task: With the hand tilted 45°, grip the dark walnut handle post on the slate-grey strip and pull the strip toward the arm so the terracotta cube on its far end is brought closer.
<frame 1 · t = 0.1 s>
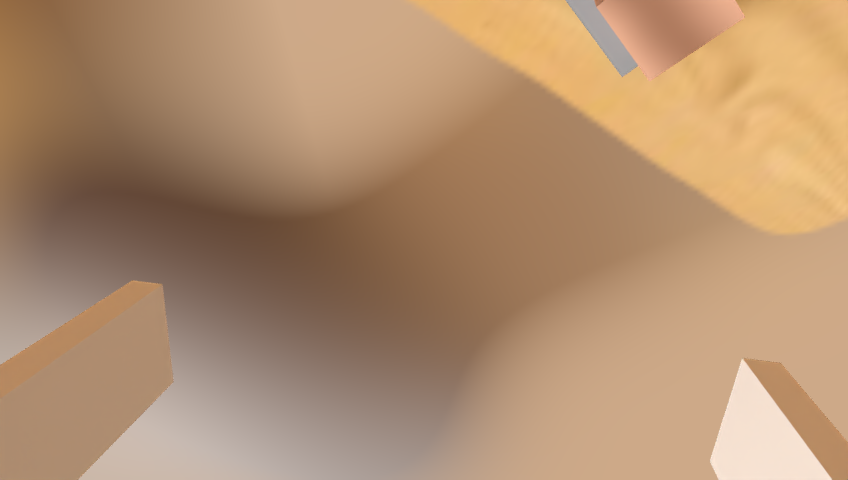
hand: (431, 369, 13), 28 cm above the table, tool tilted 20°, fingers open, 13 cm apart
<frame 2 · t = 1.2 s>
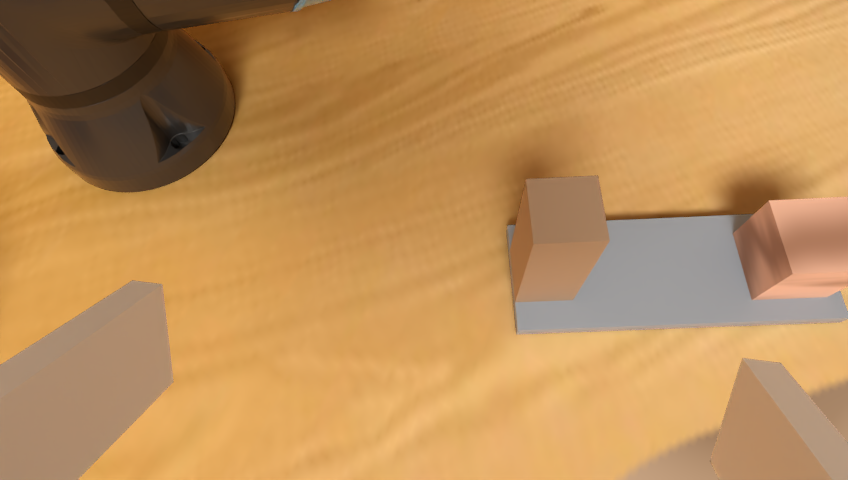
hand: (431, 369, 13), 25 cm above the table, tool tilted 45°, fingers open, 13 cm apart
strip: (694, 242, 34), point 6 cm above the table, slide at 0.0 cm, touching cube
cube: (778, 264, 38), point 1 cm above the table, touching strip
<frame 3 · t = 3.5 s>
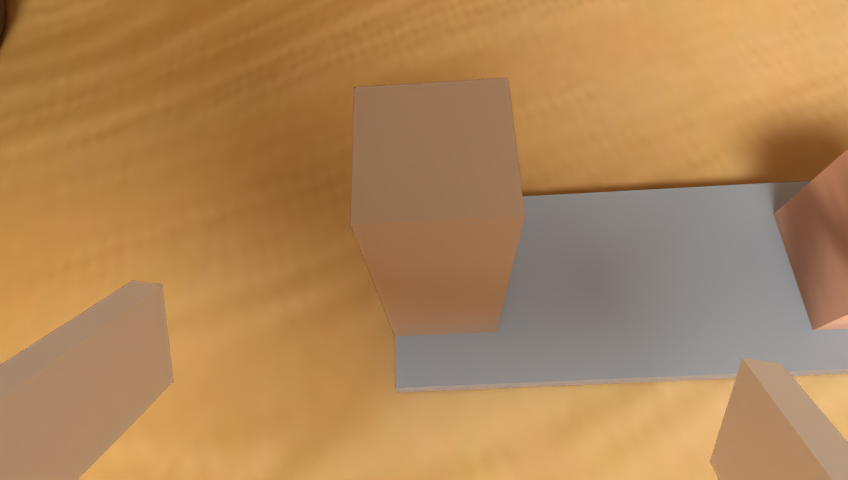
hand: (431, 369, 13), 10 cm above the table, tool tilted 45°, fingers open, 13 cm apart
strip: (713, 226, 18), point 6 cm above the table, slide at 0.0 cm, touching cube
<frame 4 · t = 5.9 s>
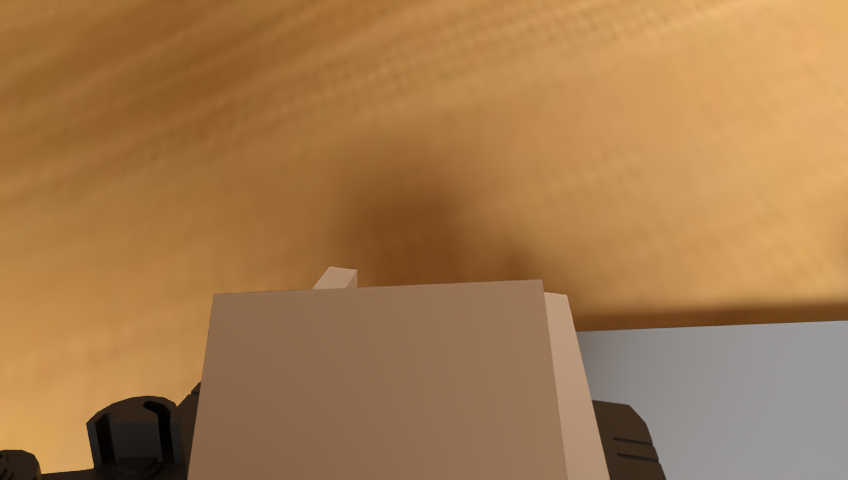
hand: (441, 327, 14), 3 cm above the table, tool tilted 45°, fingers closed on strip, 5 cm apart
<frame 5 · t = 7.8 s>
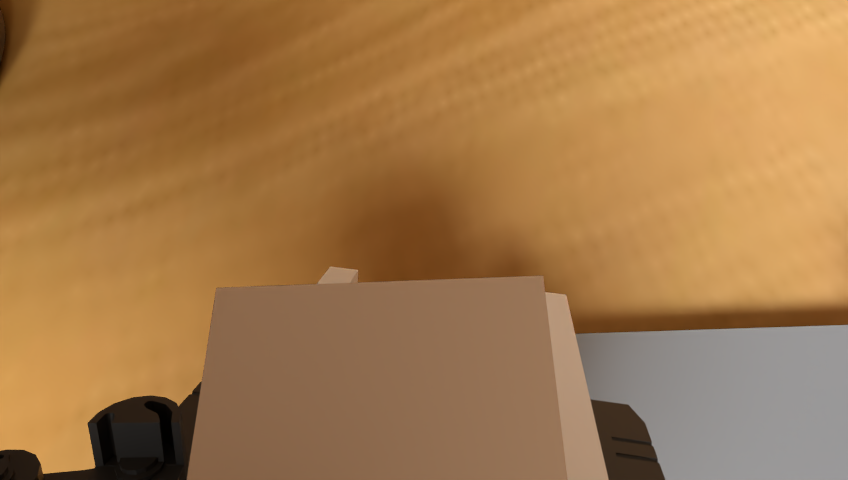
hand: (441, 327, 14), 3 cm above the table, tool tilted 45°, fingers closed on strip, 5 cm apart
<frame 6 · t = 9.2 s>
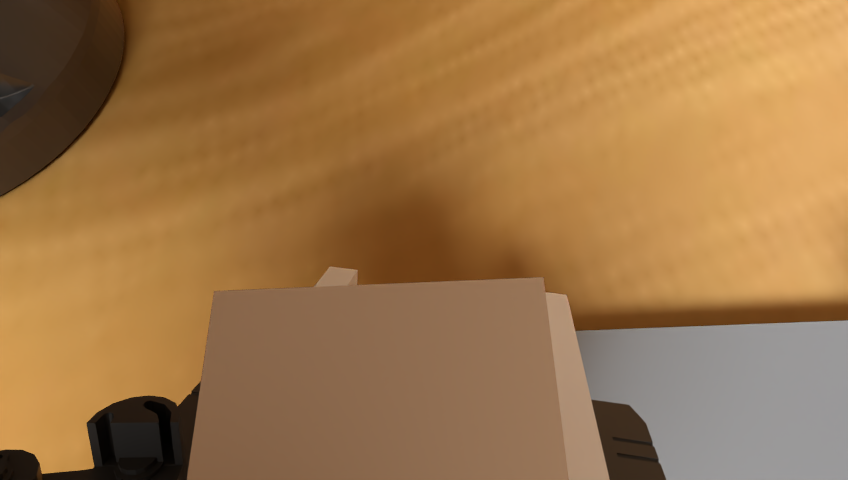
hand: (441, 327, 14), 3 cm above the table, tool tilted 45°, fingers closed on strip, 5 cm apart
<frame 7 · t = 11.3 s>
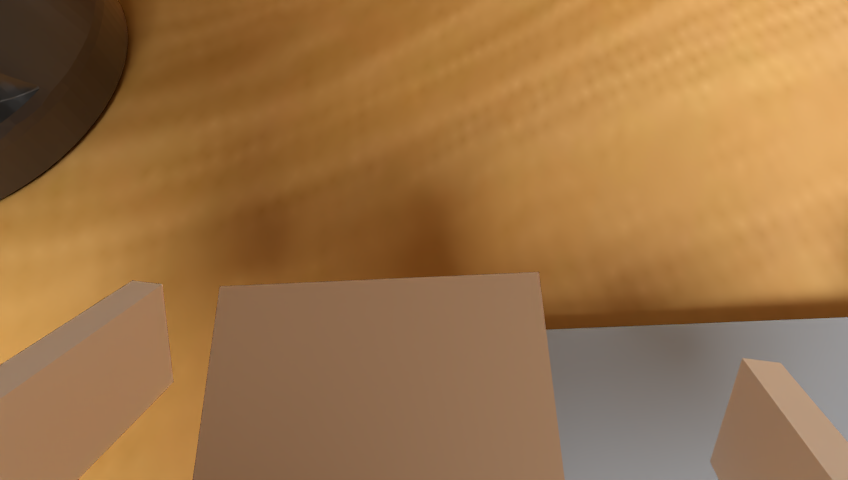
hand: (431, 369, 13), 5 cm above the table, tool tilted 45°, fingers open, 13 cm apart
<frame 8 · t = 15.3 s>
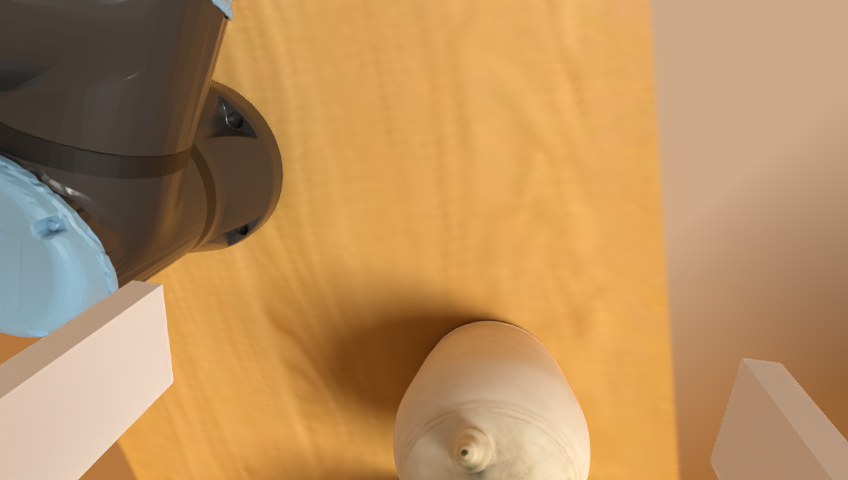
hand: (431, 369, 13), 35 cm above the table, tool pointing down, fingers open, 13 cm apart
jug: (492, 374, 53), on the table
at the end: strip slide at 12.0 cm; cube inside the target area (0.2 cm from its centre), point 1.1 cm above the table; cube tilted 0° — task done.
